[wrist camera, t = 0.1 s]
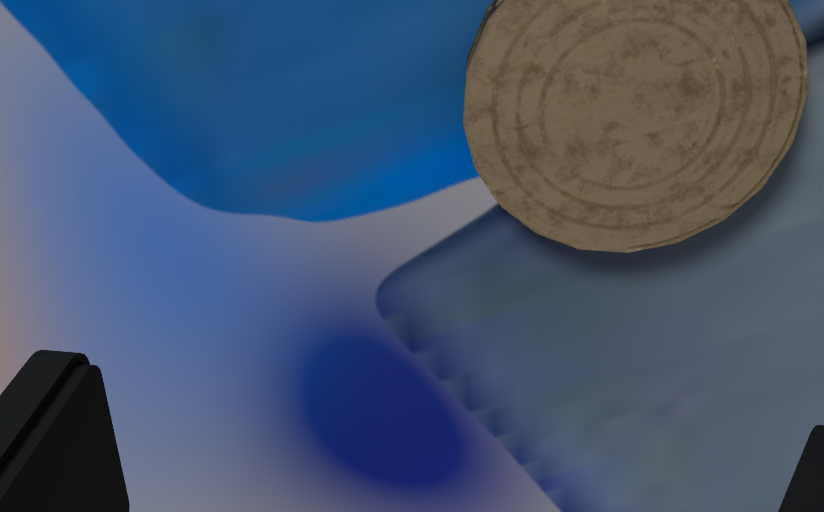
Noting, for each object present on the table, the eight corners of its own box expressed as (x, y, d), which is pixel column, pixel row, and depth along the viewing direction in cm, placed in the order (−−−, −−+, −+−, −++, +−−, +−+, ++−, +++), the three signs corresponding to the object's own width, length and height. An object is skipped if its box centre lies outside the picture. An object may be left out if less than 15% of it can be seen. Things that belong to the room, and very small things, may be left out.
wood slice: (528, 262, 45) (531, 291, 43) (412, 5, 38) (407, 22, 36) (816, 164, 41) (838, 190, 38) (745, -147, 34) (766, -141, 31)
